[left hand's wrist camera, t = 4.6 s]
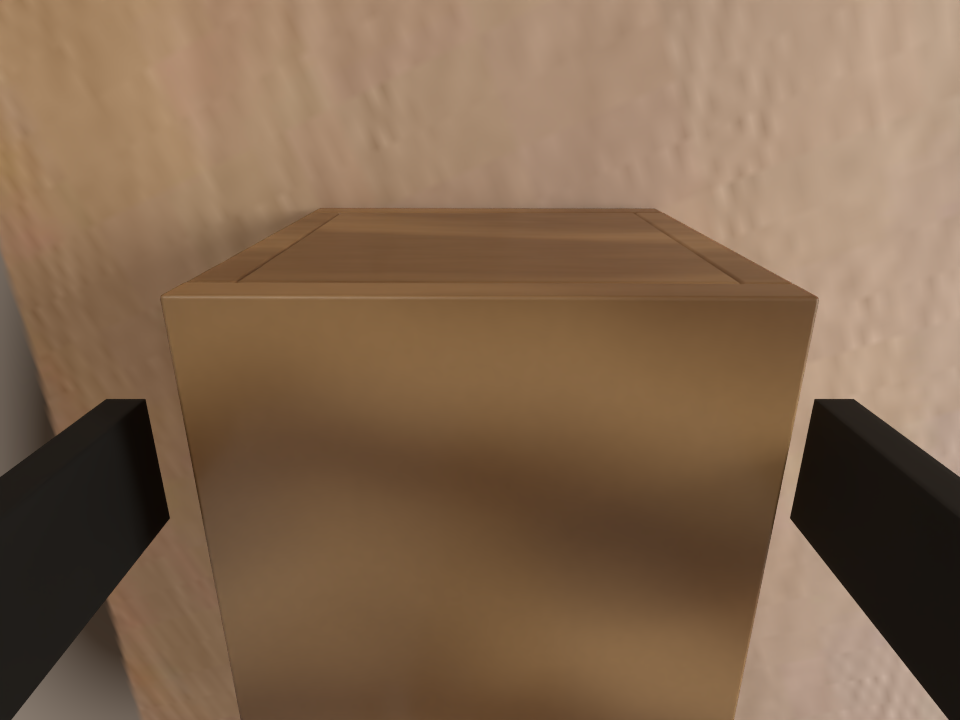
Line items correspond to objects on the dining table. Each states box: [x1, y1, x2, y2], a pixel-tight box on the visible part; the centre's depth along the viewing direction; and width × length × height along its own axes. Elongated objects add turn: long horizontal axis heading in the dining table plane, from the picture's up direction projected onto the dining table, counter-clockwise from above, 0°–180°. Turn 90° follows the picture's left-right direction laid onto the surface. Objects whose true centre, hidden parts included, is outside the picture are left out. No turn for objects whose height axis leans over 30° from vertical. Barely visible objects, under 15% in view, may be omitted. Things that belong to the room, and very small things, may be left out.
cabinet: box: [161, 208, 819, 720], centre depth 18 cm, size 19×10×10 cm, turn 0°
